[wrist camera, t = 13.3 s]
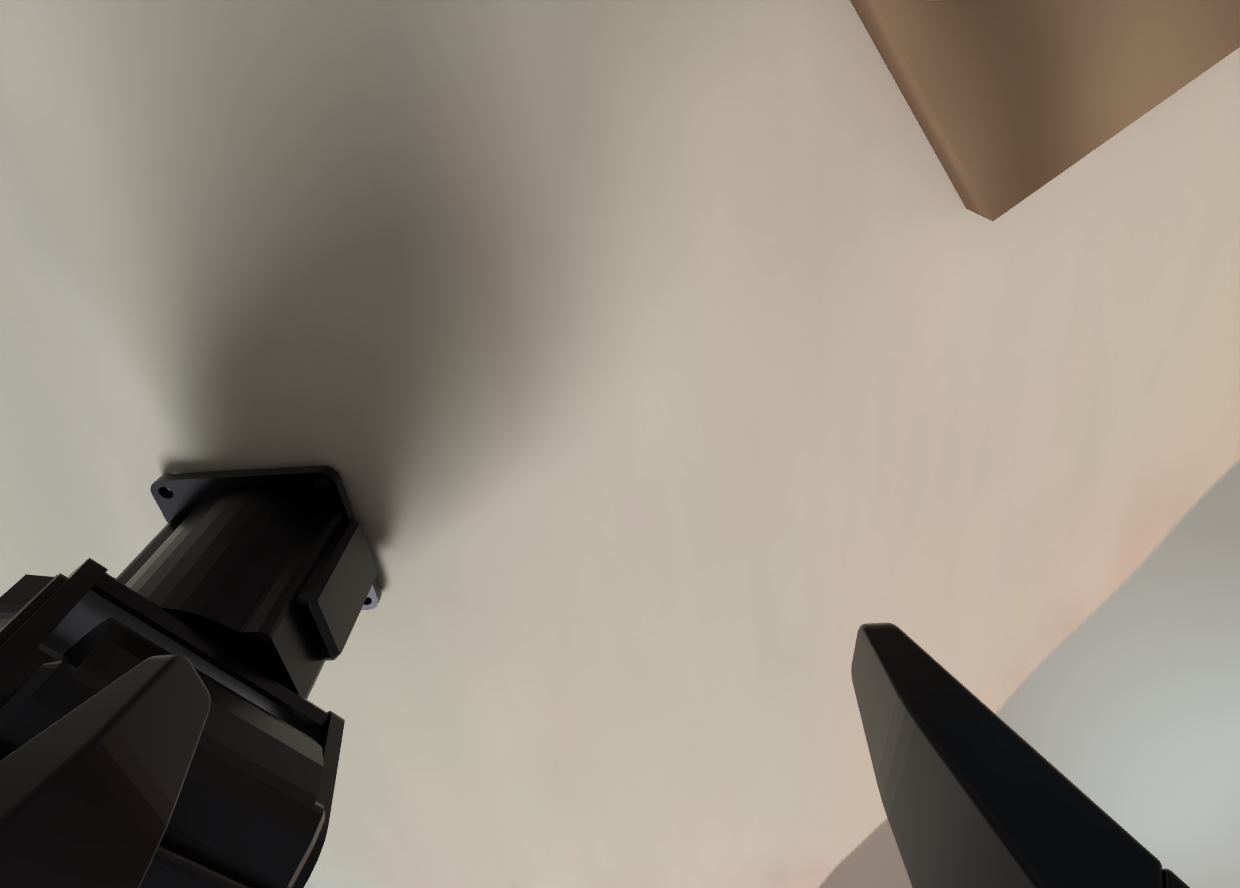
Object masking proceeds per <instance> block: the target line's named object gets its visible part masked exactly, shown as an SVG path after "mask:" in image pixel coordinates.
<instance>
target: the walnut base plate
mask: <svg viewBox="0 0 1240 888" xmlns="http://www.w3.org/2000/svg"><path fill="white" fill-rule="evenodd" d="M850 1H851V2H852V4H853V6H854V8H855V10H856V11H857V13H858V15H859V17H860V19H861V20H862V22H863V24H864V26H865V28H866V29H867V31H868V33H869V35H870V37H871V38H872V40H873V42H874V44H875V45H876V47H877V49H878V51H879V53H880V54H881V56H882V58H883V60H884V62H885V63H886V65H887V67H888V69H889V71H890V72H891V74H892V76H893V78H894V80H895V81H896V83H897V85H898V87H899V88H900V90H901V92H902V94H903V96H904V97H905V99H906V101H907V103H908V105H909V106H910V108H911V110H912V112H913V114H914V115H915V117H916V119H917V121H918V123H919V124H920V126H921V128H922V130H923V131H924V133H925V135H926V137H927V139H928V140H929V142H930V144H931V146H932V148H933V149H934V151H935V153H936V155H937V157H938V158H939V160H940V162H941V164H942V165H943V167H944V169H945V171H946V173H947V174H948V176H949V178H950V180H951V182H952V183H953V185H954V187H955V189H956V191H957V192H958V194H959V196H960V198H961V200H962V201H963V203H964V205H965V207H966V208H967V209H968V210H970V211H972V212H975V213H977V214H979V215H981V216H983V217H985V218H987V219H989V220H992V221H994V220H995V219H997V218H998V217H1000V216H1001V215H1002V214H1004V213H1005V212H1007V211H1008V210H1009V209H1011V208H1012V207H1014V206H1015V205H1017V204H1018V203H1019V202H1021V201H1022V200H1024V199H1025V198H1026V197H1028V196H1029V195H1031V194H1032V193H1034V192H1035V191H1036V190H1038V189H1039V188H1041V187H1042V186H1043V185H1045V184H1046V183H1048V182H1049V181H1051V180H1052V179H1053V178H1055V177H1056V176H1058V175H1059V174H1060V173H1062V172H1063V171H1065V170H1066V169H1068V168H1069V167H1070V166H1072V165H1073V164H1075V163H1076V162H1077V161H1079V160H1080V159H1082V158H1083V157H1085V156H1086V155H1087V154H1089V153H1090V152H1092V151H1093V150H1094V149H1096V148H1097V147H1099V146H1100V145H1102V144H1103V143H1104V142H1106V141H1107V140H1109V139H1110V138H1111V137H1113V136H1114V135H1116V134H1117V133H1119V132H1120V131H1121V130H1123V129H1124V128H1126V127H1127V126H1128V125H1130V124H1131V123H1133V122H1134V121H1136V120H1137V119H1138V118H1140V117H1141V116H1143V115H1144V114H1145V113H1147V112H1148V111H1150V110H1151V109H1153V108H1154V107H1155V106H1157V105H1158V104H1160V103H1161V102H1162V101H1164V100H1165V99H1167V98H1168V97H1170V96H1171V95H1172V94H1174V93H1175V92H1177V91H1178V90H1179V89H1181V88H1182V87H1184V86H1185V85H1186V84H1188V83H1189V82H1191V81H1192V80H1194V79H1195V78H1196V77H1198V76H1199V75H1201V74H1202V73H1203V72H1205V71H1206V70H1208V69H1209V68H1211V67H1212V66H1213V65H1215V64H1216V63H1218V62H1219V61H1220V60H1222V59H1223V58H1225V57H1226V56H1228V55H1229V54H1230V53H1232V52H1233V51H1235V50H1236V49H1237V48H1239V47H1240V0H940V1H925V0H850Z"/></svg>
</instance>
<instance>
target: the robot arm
mask: <svg viewBox="0 0 1240 888" xmlns="http://www.w3.org/2000/svg"><path fill="white" fill-rule="evenodd" d="M319 478H322V479H325V480H327V481H328V483H329V484H327V483H323V482H322V481H321V480H320V479H319ZM166 487H167V488H169V489H171V491H170V490H168V489H167V488H166ZM151 493H152V495H153V497H154V499H155V500H156V502H157V504H158V506H159V508H160V510H161V511H162V513H163V515H164V517H165V519H166V521H167V522H168V524H167V525H166V526H165V527H164V528H163V529H162V530H161V531H160V533H159V534H158V535H157V536H156V537H155V538H154V539H153V540H152V541H151V542H150V543H149V544H148V545H147V546H146V547H145V548H144V550H143V551H142V552H141V553H140V554H139V555H138V556H137V557H136V558H135V559H134V560H133V561H132V562H131V563H130V564H129V565H128V567H127V568H126V569H125V570H124V571H123V572H122V573H121V574H120V575H119V576H118V577H117V578H116V579H115V578H113V577H112V576H110V575H109V574H107V573H105V572H106V571H107V570H108V569H106V568H105V567H103V566H102V565H100V564H98V563H97V562H95V561H94V560H92V559H90V558H89V559H87V560H86V561H85V562H84V563H83V564H82V565H80V566H79V567H78V568H77V569H76V570H75V571H74V572H72V573H71V574H70V575H69V576H68V577H66V576H64V575H62V574H61V573H60V574H59V575H56V576H55V577H47V576H36V575H25V576H24V577H23V578H22V579H20V580H19V581H18V582H17V583H16V584H15V585H14V586H13V587H11V588H10V589H9V590H8V591H7V592H6V593H5V594H4V595H3V596H1V597H0V888H303V887H304V886H305V884H306V882H307V881H308V879H309V877H310V875H311V873H312V871H313V869H314V867H315V864H316V862H317V860H318V858H319V855H320V853H321V850H322V847H323V844H324V842H325V838H326V834H327V829H328V825H329V818H330V812H331V805H332V799H333V793H334V786H335V780H336V773H337V767H338V760H339V754H340V748H341V741H342V735H343V728H344V722H345V721H344V719H342V718H341V717H339V716H338V715H336V714H335V713H333V712H331V711H329V712H325V711H324V710H322V709H321V708H319V707H318V706H316V705H314V704H313V703H311V702H310V701H308V700H307V698H308V696H309V694H310V692H311V690H312V688H313V686H314V683H315V681H316V679H317V677H318V675H319V673H320V671H321V669H322V667H323V665H324V662H325V660H335V659H336V658H337V657H338V656H339V655H340V654H341V652H342V650H343V648H344V646H345V644H346V642H347V639H348V637H349V635H350V633H351V631H352V628H353V626H354V624H355V622H356V620H357V617H358V615H359V613H360V611H361V610H368V609H373V608H375V607H376V606H377V605H378V603H379V600H380V598H381V590H380V588H379V585H378V582H377V579H376V576H377V569H376V566H375V563H374V560H373V557H372V554H371V552H370V549H369V546H368V543H367V540H366V537H365V534H364V532H363V529H362V526H361V523H360V522H359V521H358V520H357V519H356V518H355V517H354V514H353V511H352V508H351V505H350V502H349V500H348V497H347V494H346V491H345V488H344V485H343V483H342V480H341V477H340V475H339V474H338V472H337V471H335V470H334V469H333V468H330V467H328V466H310V467H292V468H274V469H256V470H238V471H220V472H203V473H185V474H167V475H163V476H161V477H160V478H159V479H157V480H156V481H155V482H154V483H153V484H152V485H151ZM367 596H368V597H367ZM369 597H370V598H369ZM851 672H852V681H853V686H854V690H855V694H856V698H857V702H858V707H859V711H860V715H861V719H862V723H863V727H864V731H865V735H866V739H867V743H868V748H869V752H870V756H871V760H872V764H873V768H874V772H875V776H876V780H877V784H878V788H879V792H880V796H881V799H882V803H883V806H884V809H885V812H886V815H887V818H888V821H889V823H890V826H891V829H892V832H893V835H894V837H895V840H896V843H897V846H898V849H899V851H900V854H901V857H902V859H903V862H904V865H905V868H906V871H907V874H908V876H909V879H910V882H911V885H912V887H913V888H1189V887H1188V886H1187V885H1186V884H1185V883H1184V882H1183V881H1182V880H1181V879H1179V878H1178V877H1177V876H1176V875H1175V874H1174V873H1173V872H1172V871H1170V870H1169V869H1162V865H1161V863H1160V861H1159V860H1158V859H1157V858H1156V857H1155V856H1153V855H1152V854H1151V853H1150V852H1149V851H1148V850H1146V848H1144V847H1143V846H1142V845H1141V844H1140V843H1139V842H1138V841H1137V840H1135V839H1134V838H1133V837H1132V836H1131V835H1130V834H1129V833H1128V832H1127V831H1125V830H1124V829H1123V828H1122V827H1121V826H1120V825H1119V824H1118V823H1116V822H1115V821H1114V820H1113V819H1112V818H1111V817H1110V816H1109V815H1108V814H1106V813H1105V812H1104V811H1103V810H1102V809H1101V808H1100V807H1099V806H1097V805H1096V804H1095V803H1094V802H1093V801H1092V800H1091V799H1090V798H1089V797H1087V796H1086V795H1085V794H1084V793H1083V792H1082V791H1081V790H1080V789H1078V788H1077V787H1076V786H1075V785H1074V784H1073V783H1072V782H1070V780H1068V779H1067V778H1066V777H1065V776H1064V775H1063V774H1062V773H1061V772H1059V771H1058V770H1057V769H1056V768H1055V767H1054V766H1053V765H1052V764H1051V763H1049V762H1048V761H1047V760H1046V759H1045V758H1044V757H1043V756H1042V755H1040V754H1039V753H1038V752H1037V751H1036V750H1035V749H1034V748H1033V747H1031V746H1030V745H1029V744H1028V743H1027V742H1026V741H1025V740H1024V739H1022V738H1021V737H1020V736H1019V735H1018V734H1017V733H1016V732H1014V730H1012V729H1011V728H1010V727H1009V726H1008V725H1007V724H1006V723H1005V722H1004V721H1002V720H1001V719H1000V718H999V717H998V716H997V715H996V714H995V713H993V712H992V711H991V710H990V709H989V708H988V707H987V706H986V705H985V704H983V703H982V702H981V701H980V700H979V699H978V698H977V697H976V696H974V695H973V694H972V693H971V692H970V691H969V690H968V689H967V688H966V687H964V686H963V685H962V684H961V683H960V682H959V681H958V680H957V679H955V678H954V677H953V676H952V675H951V674H950V673H949V672H948V671H947V670H945V669H944V668H943V667H942V666H941V665H940V664H939V663H938V662H936V661H935V660H934V659H933V658H932V657H931V656H930V655H929V654H928V653H926V652H925V651H924V650H923V649H922V648H921V647H920V646H919V645H917V644H916V643H915V642H914V641H913V640H912V639H911V638H910V637H908V636H907V635H906V634H905V633H904V632H903V631H902V630H901V629H900V628H898V627H897V626H896V625H894V624H891V623H870V624H863V625H861V626H860V628H859V630H858V633H857V639H856V644H855V650H854V655H853V661H852V670H851Z"/></svg>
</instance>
